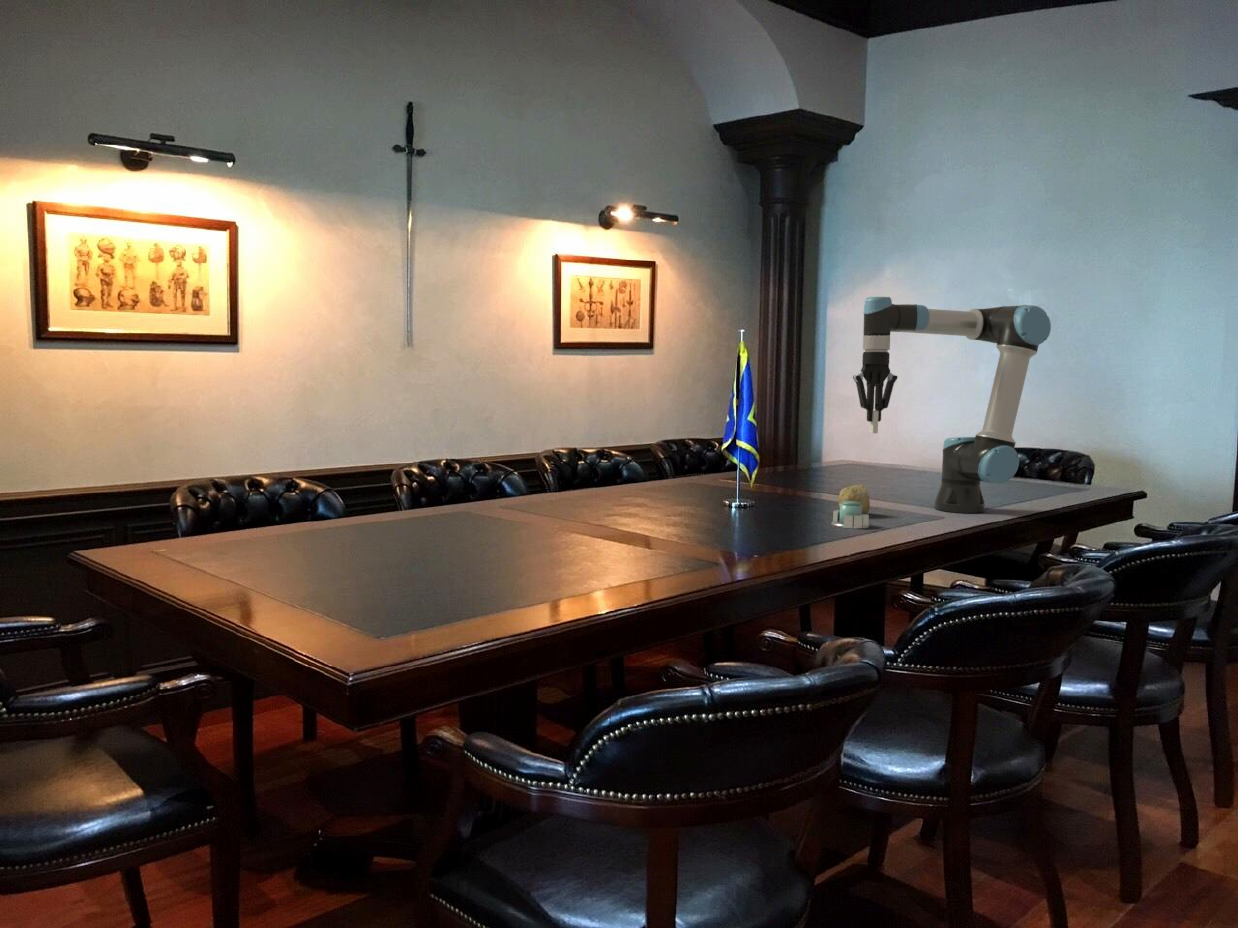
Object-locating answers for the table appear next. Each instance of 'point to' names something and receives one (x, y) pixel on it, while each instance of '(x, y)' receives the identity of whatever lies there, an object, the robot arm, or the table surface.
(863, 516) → the grey ring-shaped piece
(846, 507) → the teal rounded cylinder
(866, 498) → the coral
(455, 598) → the table surface
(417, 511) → the table surface
